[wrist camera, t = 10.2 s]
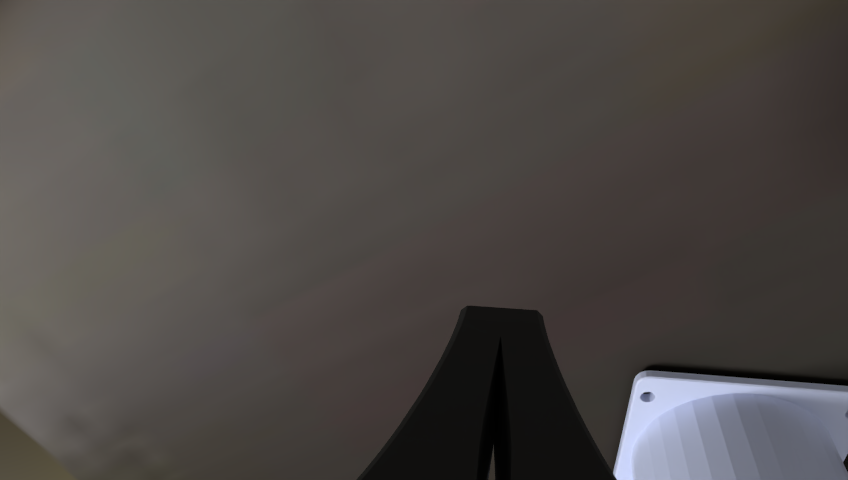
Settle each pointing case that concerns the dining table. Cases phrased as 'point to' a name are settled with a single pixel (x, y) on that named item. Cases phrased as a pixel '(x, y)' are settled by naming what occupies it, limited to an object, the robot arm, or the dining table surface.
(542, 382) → the robot arm
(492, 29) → the dining table surface
